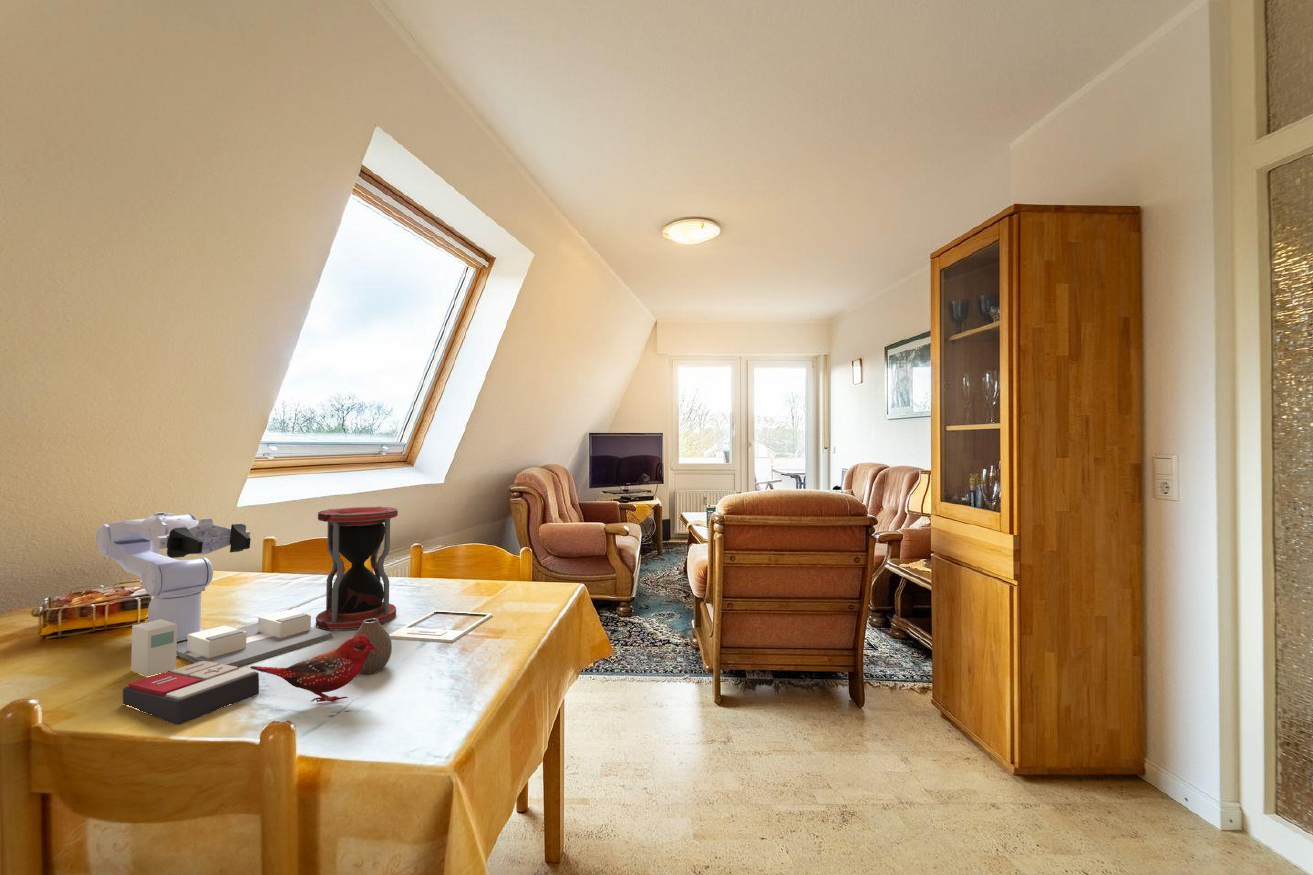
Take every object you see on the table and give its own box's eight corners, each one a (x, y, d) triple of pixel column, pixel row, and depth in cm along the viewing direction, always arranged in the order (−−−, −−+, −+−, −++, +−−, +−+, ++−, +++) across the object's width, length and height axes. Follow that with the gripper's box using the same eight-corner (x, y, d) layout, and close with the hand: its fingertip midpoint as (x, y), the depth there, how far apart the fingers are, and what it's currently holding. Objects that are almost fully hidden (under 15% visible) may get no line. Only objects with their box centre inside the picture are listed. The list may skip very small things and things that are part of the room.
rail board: (165, 651, 104) (165, 629, 104) (278, 622, 122) (278, 603, 122) (219, 672, 95) (219, 647, 95) (332, 637, 113) (333, 617, 113)
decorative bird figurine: (373, 701, 84) (374, 636, 85) (243, 712, 81) (245, 644, 81) (378, 693, 87) (380, 630, 87) (253, 703, 83) (255, 638, 84)
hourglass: (349, 607, 134) (351, 505, 134) (410, 610, 132) (411, 507, 132) (297, 628, 118) (299, 513, 119) (365, 632, 116) (367, 514, 116)
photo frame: (386, 634, 113) (435, 609, 131) (386, 640, 113) (435, 614, 131) (452, 638, 110) (492, 612, 128) (452, 644, 110) (492, 617, 128)
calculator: (204, 657, 93) (260, 667, 87) (205, 683, 93) (260, 694, 87) (121, 683, 83) (177, 696, 77) (121, 711, 83) (177, 727, 77)
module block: (131, 671, 95) (132, 625, 95) (160, 663, 99) (161, 619, 99) (147, 678, 92) (148, 631, 93) (176, 669, 96) (177, 624, 96)
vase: (346, 681, 92) (347, 628, 92) (348, 666, 98) (349, 617, 98) (391, 673, 95) (392, 623, 95) (390, 660, 101) (391, 612, 101)
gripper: (148, 517, 104) (178, 526, 97) (237, 513, 116) (269, 521, 109) (144, 554, 103) (174, 566, 97) (233, 546, 116) (266, 556, 109)
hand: (224, 545), depth 103 cm, fingers open, 7 cm apart
